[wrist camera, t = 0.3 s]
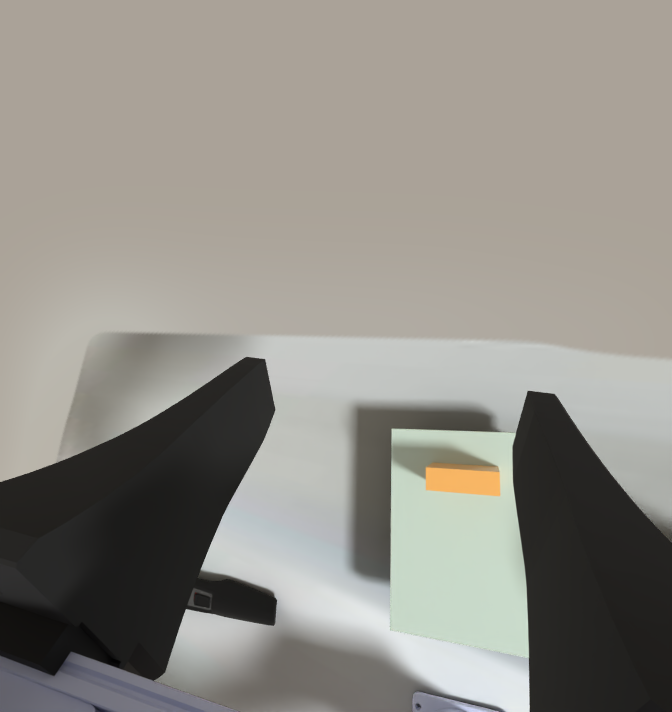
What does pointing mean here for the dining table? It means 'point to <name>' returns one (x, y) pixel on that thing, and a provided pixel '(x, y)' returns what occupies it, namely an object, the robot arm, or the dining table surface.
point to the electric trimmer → (233, 601)
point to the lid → (457, 540)
